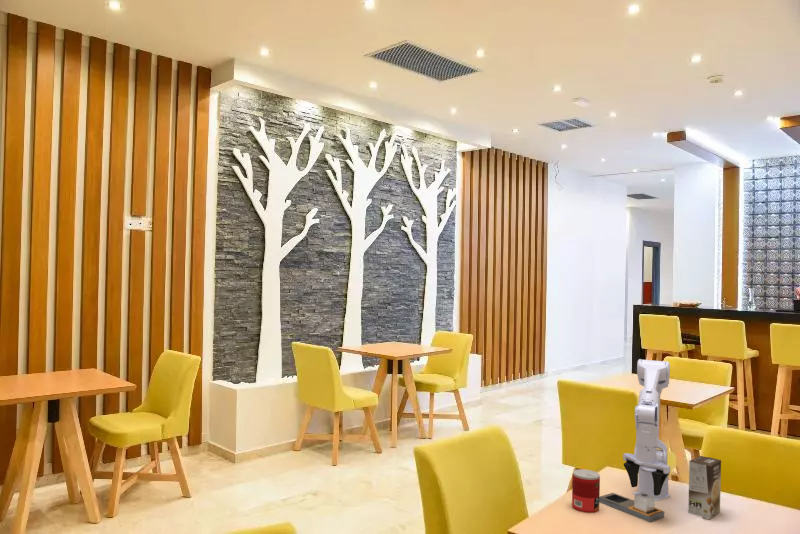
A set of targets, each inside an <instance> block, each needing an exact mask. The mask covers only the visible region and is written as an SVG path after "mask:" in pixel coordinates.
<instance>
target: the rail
mask: <svg viewBox="0 0 800 534" xmlns="http://www.w3.org/2000/svg"><path fill="white" fill-rule="evenodd" d="M599 504H603V505H605V506H607V507H610V508H613V509H616V510H617V511H620V512H623V513H625V514H628V515H631V516H633V517H635V518H638V519H641V520H643V521H645V522H648V523H652V522H654V521H658V520H660V519H663V518H665V510H664V511H663V509H659V508H657V507H654V512H652V513H649V514H646V513H644V512H641V511H639V510H636V509H634V500H633V499H631V498H629V497H625V496H623V495H621V494H618V493H615V492H609V493H608V494H607V493H606V494H604V495H599Z"/></svg>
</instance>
